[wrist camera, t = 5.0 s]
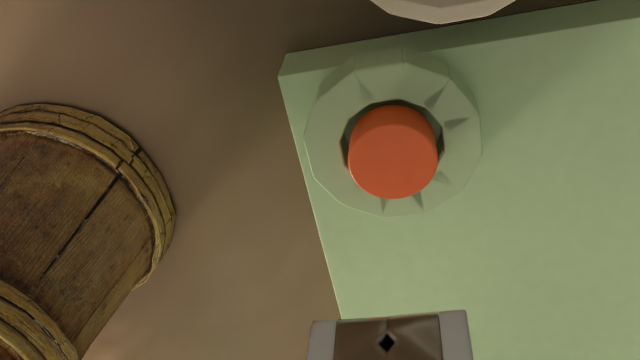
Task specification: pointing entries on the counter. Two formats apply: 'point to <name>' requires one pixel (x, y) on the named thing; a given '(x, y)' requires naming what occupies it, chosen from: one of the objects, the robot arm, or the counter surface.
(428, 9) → the bowl
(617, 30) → the scale
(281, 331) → the counter surface
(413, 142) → the button
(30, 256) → the wooden mug
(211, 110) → the counter surface
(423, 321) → the robot arm
